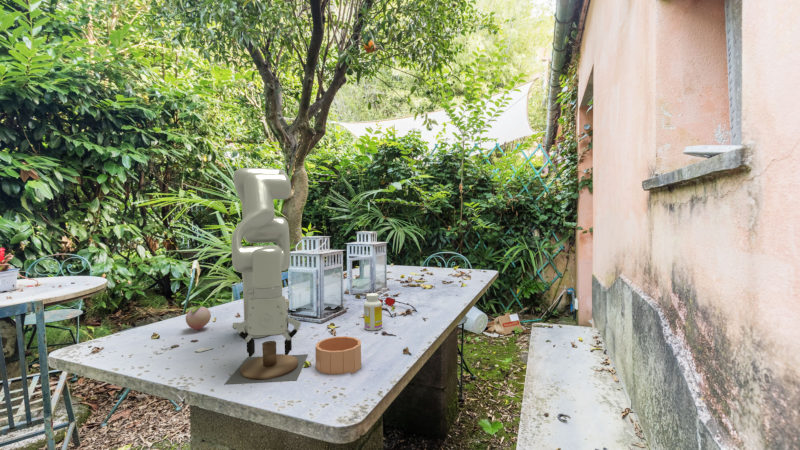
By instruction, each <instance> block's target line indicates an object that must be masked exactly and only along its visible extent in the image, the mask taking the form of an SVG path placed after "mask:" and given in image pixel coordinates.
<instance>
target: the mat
mask: <svg viewBox="0 0 800 450" xmlns="http://www.w3.org/2000/svg"><path fill="white" fill-rule="evenodd" d="M290 355H291V356H294V357H296V358H297V360H298V366H297V368H296V369H295V370H294V371H292V372H291V373H289V374H286V375H284V376H281V377H277V378H273V379H266V380H252V379H247V378H244V377H243V376H242V375H241V367H242V365H243V364H245V363H246V362H248V361H250V360H252V359H255V358H258V357H259V356H251V357H249V356H247V357H246V358H245V359H244V360H243V362H242V363H241V364H240V365H239V366H238V367H237V369H235V371H233V373H232V374H231V376H229V378H228V379H227V380H226V381H225V382H224V383H223V385H228V386H229V385H240V384H241V385H242V384H243V385H244V384H245V385H246V384H260V383H261V384H262V383H263V384H264V383H280V382H281V383H282V382H297V381H298V379H299V377H300V375H301V372H302V369H303V368H304V365H305V363H306V361H307V358H308V357H309V354H308V353H307V354H290ZM262 356H263V355H262ZM262 356H260V357H262Z"/></svg>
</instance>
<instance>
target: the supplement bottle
mask: <svg viewBox="0 0 800 450" xmlns="http://www.w3.org/2000/svg"><path fill="white" fill-rule="evenodd" d="M379 295H380V294H379V293H376V292H375V293H373V292H371V293H367V294H366V295H365V296H366V297H365V298H366V301H364V303H363V314H364V315H363V316H364V317H363V320H364V321H363V323H364V324H363V325H364V329H365V330H367V331H370V332H371V331H379V330H381V329H382V328H383V310H382V309H383V306H382V303H383V302H382V303H381V301H379V300H378V299H380V298H379V297H380V296H379Z"/></svg>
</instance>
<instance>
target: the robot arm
mask: <svg viewBox="0 0 800 450" xmlns="http://www.w3.org/2000/svg"><path fill="white" fill-rule="evenodd" d="M232 178H233V184H234V185H233V186H234V188H235V191H236V194H237V196H238V198H239V200H240V203H241V204H240V205H241V212H242V217H241V218H242V220H241V221H240V222H239V223H238V225H237V226H236V228H235V229H234V231H233V233H232V237H231V262H232V267H233V269H234V270H235V271H236V272H237V273H241V277H242V292H243V296H242V299H243V321H242V322H233V323H232V329H233V330H236V331H237V332H238V334H239V336H240V337H241V338H242V339H243V340H244V342H245V343H246V353H247V354H248V357H253V355H254V354H256V348H255V347H256V346H255V345H256V344H255V341H256V340H255V339H261V338H264V337H270V336H272V337H273V336H281V335H282V336H283V337H284V338H285V340H284V354H285V355H290V354H289V353H290V352H292V347H293V346H292V345H293V344H292V338H293V337H294V336H296V334H297V332H298V331H299V329H300V327H301V325H302V322H301V321H299V320H297V319H294V318H292V317H290V316H289V314H288V311H289V310H288V308H287V305H286V300H285V299H286V298H285V297H286V296H285V295H283V278H282V272H285V271H287V270H288V269H289V268H290V265H291V242H290V241H291V240H290V226H289V223H288V220H287V219H286V218H285V217H282V216H276V212H275V204H274V200H288V199H289V198H290V197H291V193H292V184H291V179H290V177H289V176H288V174H287V173H286V171H285V170H284V169H281V168H268V167H267V168H263V167H242V168H237V169H236V170H235V171H234V172H233V177H232ZM243 239H244V240H245V242H247V243H249V244H263V243H264V244H265V243H266V244H267V243H268V245H250V246H249V245H248V246H247V245H246V246H243V245H242V241H243ZM270 243H275V244H276V245H275V244H272V245H271V244H270ZM269 244H270V245H269ZM289 325H292V326H294V327H293V329H292V330H289Z"/></svg>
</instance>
